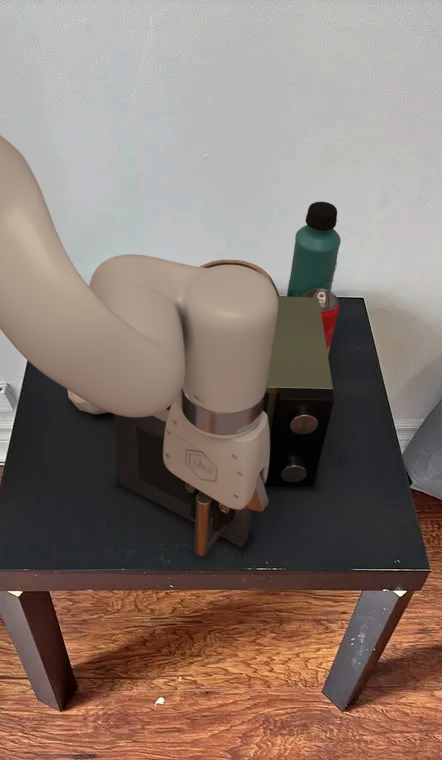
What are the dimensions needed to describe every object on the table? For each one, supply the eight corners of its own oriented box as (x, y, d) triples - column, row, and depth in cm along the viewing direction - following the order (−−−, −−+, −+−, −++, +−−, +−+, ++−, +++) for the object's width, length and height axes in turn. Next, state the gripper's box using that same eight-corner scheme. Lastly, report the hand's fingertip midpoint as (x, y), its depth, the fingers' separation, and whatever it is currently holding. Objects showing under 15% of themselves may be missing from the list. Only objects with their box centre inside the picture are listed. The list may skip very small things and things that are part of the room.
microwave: (313, 492, 95) (335, 404, 82) (122, 489, 93) (115, 399, 81) (301, 388, 106) (318, 297, 93) (131, 384, 105) (125, 291, 92)
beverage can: (288, 375, 108) (299, 308, 98) (292, 351, 111) (303, 284, 101) (323, 381, 107) (338, 314, 98) (327, 356, 110) (341, 290, 101)
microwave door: (218, 580, 86) (226, 499, 73) (94, 513, 91) (82, 425, 78) (248, 538, 90) (260, 454, 77) (127, 475, 95) (120, 386, 82)
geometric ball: (89, 427, 103) (49, 405, 97) (96, 374, 105) (58, 349, 99) (134, 419, 99) (96, 396, 93) (140, 365, 102) (103, 338, 95)
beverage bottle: (292, 344, 112) (312, 226, 96) (274, 317, 115) (290, 198, 100) (331, 335, 113) (357, 217, 98) (312, 308, 117) (333, 191, 101)
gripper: (126, 381, 68) (133, 501, 82) (274, 465, 63) (253, 578, 77) (177, 338, 72) (174, 460, 86) (319, 414, 67) (291, 530, 81)
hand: (211, 515), depth 82 cm, fingers closed
